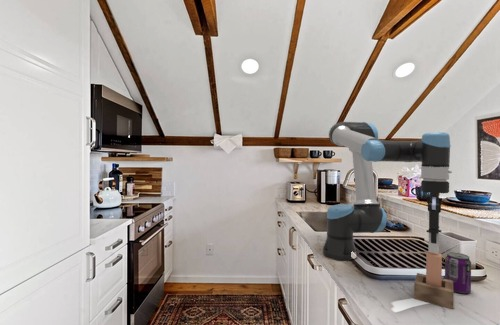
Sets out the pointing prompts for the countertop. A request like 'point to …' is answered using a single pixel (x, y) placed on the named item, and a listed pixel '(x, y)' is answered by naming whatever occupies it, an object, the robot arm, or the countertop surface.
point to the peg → (434, 269)
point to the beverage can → (458, 271)
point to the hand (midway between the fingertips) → (433, 252)
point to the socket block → (434, 292)
